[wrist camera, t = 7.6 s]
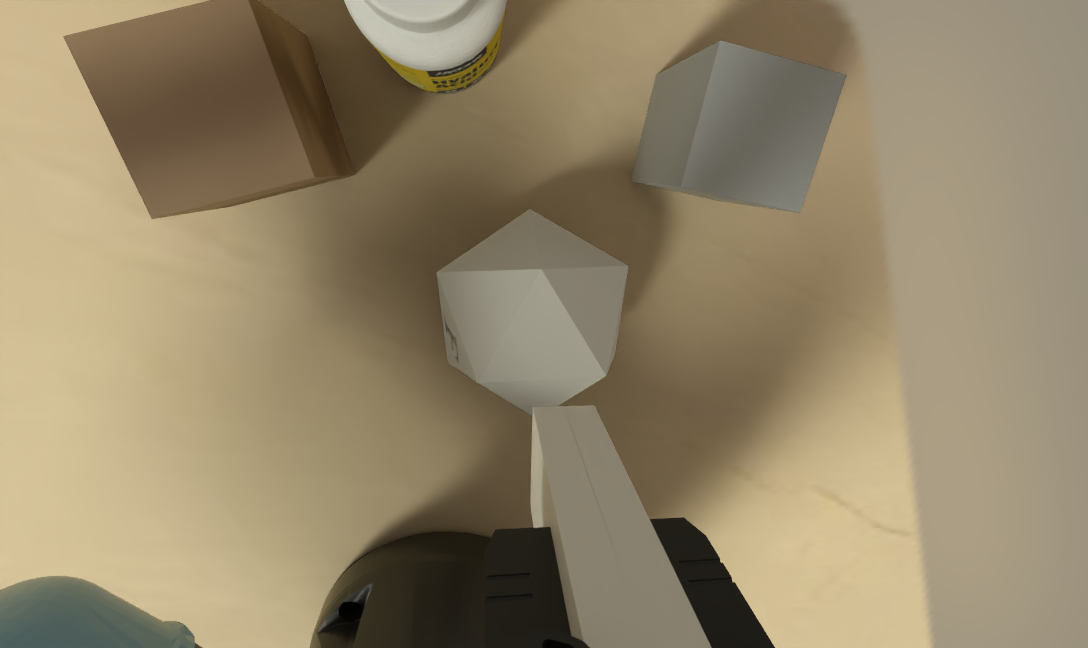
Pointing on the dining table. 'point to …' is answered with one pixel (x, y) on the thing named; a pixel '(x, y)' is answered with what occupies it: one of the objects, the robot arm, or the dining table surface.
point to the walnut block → (212, 105)
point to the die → (532, 312)
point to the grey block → (737, 127)
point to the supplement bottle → (433, 38)
